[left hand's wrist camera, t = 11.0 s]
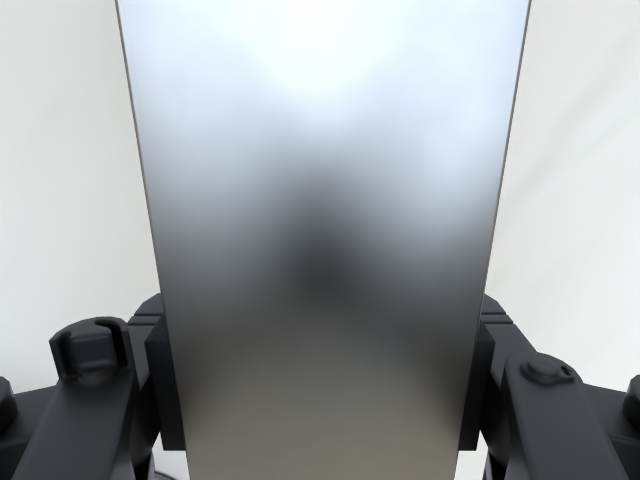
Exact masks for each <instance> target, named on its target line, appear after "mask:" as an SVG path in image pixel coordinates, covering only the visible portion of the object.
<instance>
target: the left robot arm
mask: <svg viewBox="0 0 640 480" xmlns="http://www.w3.org/2000/svg"><path fill="white" fill-rule="evenodd" d="M49 344H50V347H51V351H52V354H53V358H54V362H55V365H56V369H57V372H58V376H59V380H58V382H57V384H56V385H55V386H51V387H47V388H42V389H37V390H33V391H28V392H23V393H18V394H13V391H12V388H11V385H10V382H9V381H8V380H6V379H5V378H4V377H0V480H171V479H169V478H167V477H164V476H162V475H159V474H156V473H154V470H155V465H154V458H153V453H152V447H153V445H154V443H155V441H156V439H157V436H158V434H159V432H160V434H161V439H162V445H163V450H164V451H186V450H185V444H184V437H183V431H182V425H181V418H180V412H179V405H178V399H177V393H176V386H175V380H174V374H173V367H172V361H171V355H170V348H169V342H168V335H167V329H166V323H165V316H164V310H163V304H162V297H161V293H158V294H156V295H155V296H153V297H151V298H150V299H148V300H147V301H145V302H143V303H142V305H141V306H140V307H139V308H138V310H137V311H136V312H135V314H134V316H132V317H131V319H130V320H129V321H128V322H127V323H126V322H125V321H124V320H122V319H120V318H115V317H95V318H90V319H85V320H82V321H79V322H76V323H74V324H71V325H69V326H67V327H65V328H64V329H62V330H60V331H59V332H57V333H56V334H55V335H54V336H53V337H52V338H51V339H50V340H49ZM480 430H481V433H482V435H483V437H484V439H485V441H486V444H487V446H488V453H487V458H486V463H485V468H484V473H483V478H482V480H640V375H637V376H635V377H634V378H633V379H631V381H630V384H629V387H628V390H627V393H626V392H621V391H616V390H612V389H607V388H602V387H597V386H592V385H588V384H585V383H583V381H582V379H581V377H580V376H579V375H578V374H577V372H576V371H575V370H574V369H573V368H572V367H570V366H569V365H568V364H566V363H565V362H563V361H562V360H559V359H557V358H555V357H552V356H550V355H547V354H543V353H539V352H537V351H536V350H535V349H534V347H533V346H532V345H531V344H530V342H529V341H528V340H527V339H526V337H525V336H524V335H523V334H522V332H521V331H520V330H519V329H518V327H517V326H516V325H515V324H513V321H512V320H511V318H510V317H509V316H508V315H506V312H505V311H504V310H503V308H502V307H501V306H500V305H499V303H498V302H497V301H496V300H494V299H492V298H491V297H489V296H488V295H486V294H484V297H483V304H482V310H481V316H480V322H479V328H478V335H477V341H476V347H475V353H474V359H473V365H472V372H471V378H470V384H469V390H468V396H467V403H466V409H465V415H464V421H463V427H462V434H461V440H460V446H459V451H476V449H477V443H478V438H479V432H480Z"/></svg>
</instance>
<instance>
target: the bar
mask: <svg viewBox="0 0 640 480" xmlns="http://www.w3.org/2000/svg"><path fill="white" fill-rule="evenodd" d="M115 4H116V10H117V17H118V23H119V30H120V36H121V42H122V49H123V55H124V61H125V68H126V74H127V81H128V87H129V93H130V100H131V106H132V112H133V119H134V125H135V131H136V138H137V144H138V151H139V157H140V163H141V170H142V176H143V182H144V189H145V195H146V202H147V208H148V214H149V221H150V227H151V233H152V240H153V246H154V253H155V259H156V265H157V272H158V278H159V284H160V291H161V297H162V304H163V310H164V316H165V323H166V329H167V335H168V342H169V348H170V355H171V361H172V367H173V374H174V380H175V386H176V393H177V399H178V405H179V412H180V418H181V425H182V431H183V437H184V444H185V450H186V456H187V463H188V469H189V476H190V480H454V477H455V471H456V465H457V458H458V452H459V446H460V440H461V434H462V427H463V421H464V415H465V409H466V403H467V396H468V390H469V384H470V378H471V372H472V365H473V359H474V353H475V347H476V341H477V335H478V328H479V322H480V316H481V310H482V304H483V297H484V291H485V285H486V279H487V273H488V266H489V260H490V254H491V248H492V242H493V235H494V229H495V223H496V217H497V211H498V205H499V198H500V192H501V186H502V180H503V174H504V167H505V161H506V155H507V149H508V143H509V136H510V130H511V124H512V118H513V112H514V105H515V99H516V93H517V87H518V81H519V75H520V68H521V62H522V56H523V50H524V44H525V37H526V31H527V25H528V19H529V13H530V6H531V0H115Z"/></svg>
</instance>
